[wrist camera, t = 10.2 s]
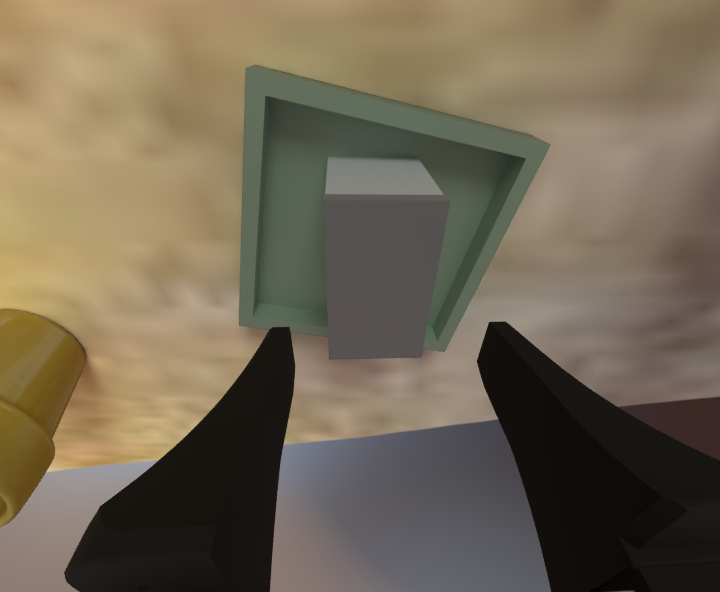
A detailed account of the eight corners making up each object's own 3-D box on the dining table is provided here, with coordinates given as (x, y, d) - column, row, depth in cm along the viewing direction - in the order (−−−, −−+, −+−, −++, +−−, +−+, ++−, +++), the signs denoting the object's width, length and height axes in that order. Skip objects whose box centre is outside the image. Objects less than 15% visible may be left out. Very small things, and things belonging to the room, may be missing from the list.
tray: (530, 135, 18) (550, 144, 16) (437, 331, 25) (444, 351, 24) (255, 64, 15) (245, 67, 14) (245, 305, 23) (238, 325, 21)
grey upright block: (418, 156, 17) (450, 200, 13) (402, 288, 22) (421, 357, 17) (327, 155, 17) (323, 200, 12) (330, 289, 22) (329, 359, 17)
